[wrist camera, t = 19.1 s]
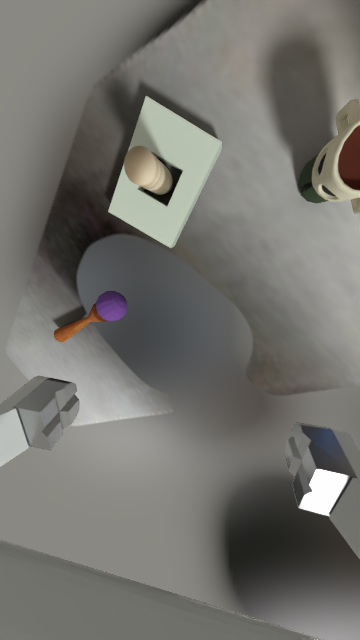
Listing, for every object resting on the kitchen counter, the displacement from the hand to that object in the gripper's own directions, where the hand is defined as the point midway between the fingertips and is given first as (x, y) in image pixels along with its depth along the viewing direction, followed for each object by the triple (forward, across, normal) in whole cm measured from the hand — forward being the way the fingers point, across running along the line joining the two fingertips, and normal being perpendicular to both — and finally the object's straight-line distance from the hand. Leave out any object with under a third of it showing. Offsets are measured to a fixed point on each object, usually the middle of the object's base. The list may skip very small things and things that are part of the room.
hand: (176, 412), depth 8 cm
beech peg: (+35, +10, -12) cm, 38 cm away
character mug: (+35, -14, -13) cm, 40 cm away
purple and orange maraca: (+36, +25, +14) cm, 46 cm away
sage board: (+35, +10, -12) cm, 38 cm away
